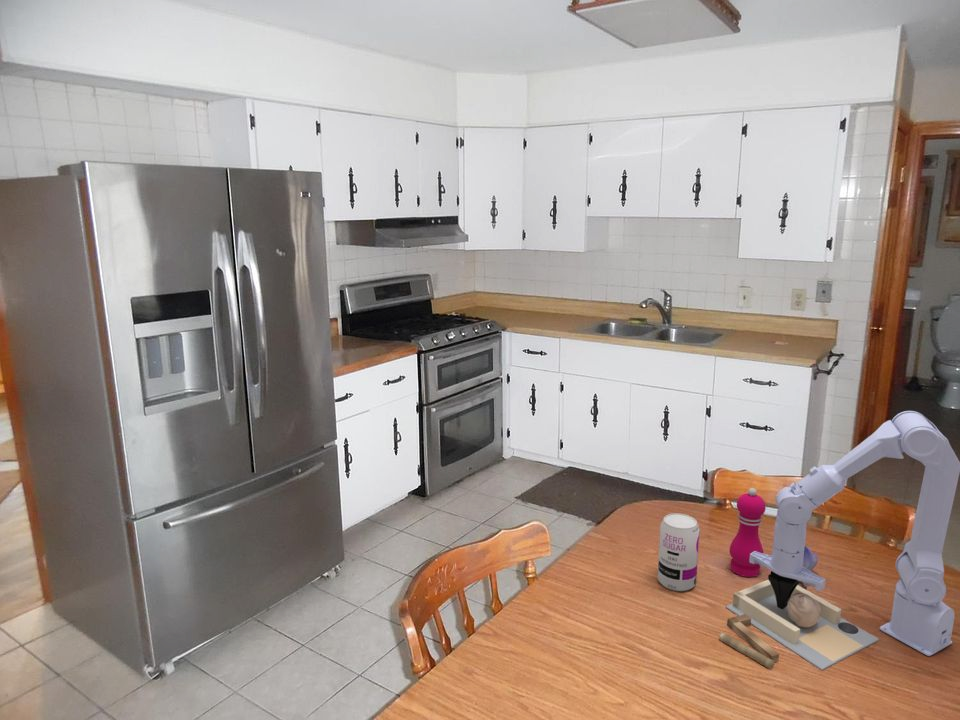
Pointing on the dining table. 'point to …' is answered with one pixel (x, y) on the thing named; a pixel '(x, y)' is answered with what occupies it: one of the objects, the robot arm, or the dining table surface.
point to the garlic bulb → (803, 610)
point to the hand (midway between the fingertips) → (782, 606)
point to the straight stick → (746, 650)
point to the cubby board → (813, 643)
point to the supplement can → (678, 552)
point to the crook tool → (751, 636)
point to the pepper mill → (747, 534)
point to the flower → (809, 560)
